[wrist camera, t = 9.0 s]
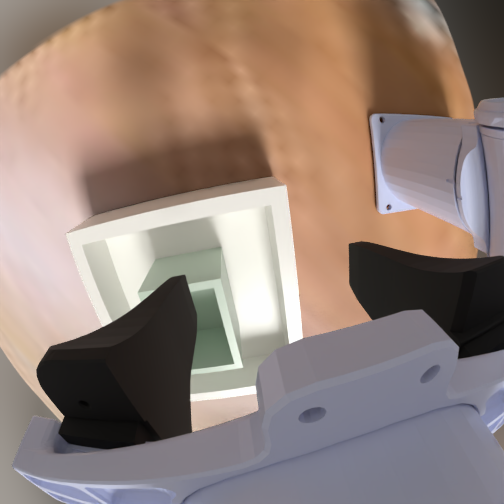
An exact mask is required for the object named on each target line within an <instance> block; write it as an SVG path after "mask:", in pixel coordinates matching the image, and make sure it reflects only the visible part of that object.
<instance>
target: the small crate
mask: <svg viewBox="0 0 504 504" xmlns="http://www.w3.org/2000/svg"><path fill="white" fill-rule="evenodd" d="M179 275H185V276H186V279H187V282H188V286H189V289H190V293H191V296H192V299H193V303H194V306H195V309H196V312H197V336H196V343H195V350H194V356H193V363H192V370H191V375H193V374H202V373H210V372H218V371H225V370H232V369H238V368H243V360H242V350H241V339H240V328H239V322H238V318H237V314H236V309H235V305H234V301H233V296H232V292H231V287H230V283H229V279H228V274H227V269H226V265H225V260H224V256H223V251H222V247H217V248H211V249H206V250H201V251H196V252H190V253H185V254H180V255H174V256H169V257H164V258H159V259H155V261H154V263H153V265H152V266H151V268H150V270H149V272H148V274H147V276H146V277H145V279H144V281H143V283H142V285H141V287H140V289H139V291H138V295H139V298H140V301H141V302H142V301H143V300H144V299H145V298H147V297H148V296H149V295H150V294H151V293H152V292H154V291H155V290H156V289H157V288H158V287H159V286H160V285H162V284H163V283H164V282H165V281H166V280H168V279H169V278H171V277H173V276H179Z"/></svg>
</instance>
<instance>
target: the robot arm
mask: <svg viewBox="0 0 504 504" xmlns="http://www.w3.org/2000/svg"><path fill="white" fill-rule="evenodd" d="M380 117H381V118H382V119H383V122H382V123H381V122H380ZM474 117H475V119H453V118H449V117H439V116H427V115H410V114H372V115H371V116H370V118H369V121H370V129H371V137H372V146H373V156H374V168H375V182H376V202H377V211H378V212H379V213H381V214H387V213H393V212H399V211H405V210H411V209H420V210H422V211H425V212H427V213H429V214H431V215H433V216H436V217H438V218H440V219H442V220H444V221H446V222H448V223H451V224H453V225H455V226H457V227H459V228H461V229H463V230H465V231H467V232H469V233H471V234H472V236H473V239H474V247H476V248H478V249H479V250H481V251H483V252H485V253H486V254H487V257H485V258H472V259H452V258H438V257H430V256H424V255H418V254H413V253H409V252H405V251H401V250H397V249H393V248H389V247H386V246H382V245H378V244H374V243H370V242H362V241H361V242H356V243H350V244H349V284H350V286H351V288H352V290H353V292H354V294H355V296H356V298H357V300H358V301H359V303H360V304H361V305H362V307H363V308H364V309H365V311H366V312H367V313H368V315H369V316H370V317H371V319H372V321H369V322H365V323H362V324H358V325H355V326H351V327H347V328H343V329H340V330H336V331H332V332H328V333H324V334H320V335H315V336H311V337H307V338H302V339H299V340H297V341H295V342H292V343H290V344H288V345H285V346H283V347H280V348H278V349H275V350H274V351H273V352H272V353H271V354H270V355H269V356H268V357H267V358H266V359H265V360H264V361H263V363H262V364H261V365H260V366H259V367H258V371H257V377H256V383H255V386H256V393H257V400H258V407H259V409H258V411H257V412H254V413H251V414H249V415H246V416H243V417H240V418H237V419H234V420H231V421H228V422H225V423H222V424H219V425H216V426H213V427H209V428H206V429H203V430H199V431H196V432H192V426H191V403H190V380H191V370H192V363H193V356H194V350H195V343H196V336H197V312H196V309H195V306H194V303H193V299H192V296H191V293H190V289H189V286H188V282H187V279H186V276H185V275H179V276H173V277H171V278H169V279H168V280H166V281H165V282H164V283H163V284H162V285H160V286H159V287H158V288H157V289H156V290H155V291H154V292H152V293H151V294H150V295H149V296H148V297H147V298H145V299H144V300H143V301H142V302H140V303H139V304H138V305H137V306H136V307H134V308H133V309H132V310H130V311H129V312H127V313H126V314H124V315H123V316H121V317H120V318H118V319H117V320H115V321H113V322H111V323H109V324H108V325H106V326H104V327H102V328H100V329H98V330H96V331H94V332H92V333H89V334H87V335H84V336H82V337H79V338H77V339H74V340H71V341H67V342H64V343H61V344H57V345H54V346H51V347H50V348H49V349H48V351H47V352H46V354H45V355H44V357H43V358H42V360H41V361H40V363H39V365H38V367H37V378H38V380H39V383H40V385H41V387H42V389H43V390H44V392H45V393H46V394H47V396H48V397H49V398H50V399H51V401H52V402H53V403H54V404H55V406H56V407H57V408H58V409H59V410H60V412H61V413H62V414H63V415H64V416H65V417H64V419H63V422H62V424H61V423H60V422H58V421H57V420H54V419H50V418H45V417H40V416H33V417H32V419H31V421H30V423H29V426H28V428H27V430H26V432H25V435H24V437H23V439H22V441H21V444H20V446H19V449H18V451H17V454H16V456H15V459H14V461H13V464H12V467H13V469H15V470H16V471H17V472H18V473H20V474H21V475H22V476H24V477H25V478H26V479H28V480H29V481H30V482H32V483H33V484H35V485H36V486H37V487H39V488H40V489H42V490H43V491H44V492H46V493H47V494H49V495H51V496H52V497H53V498H55V499H57V500H58V501H61V502H64V503H67V504H504V451H503V449H502V448H501V446H500V445H499V443H498V441H497V440H496V438H495V437H494V436H493V433H494V432H495V431H496V430H497V429H499V428H500V427H501V426H502V425H503V424H504V98H495V99H486V100H482V101H481V102H480V103H479V105H478V107H477V108H476V109H475V110H474ZM388 204H389V208H388V209H387V208H386V207H387V205H388Z"/></svg>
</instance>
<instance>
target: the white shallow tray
mask: <svg viewBox="0 0 504 504" xmlns="http://www.w3.org/2000/svg"><path fill="white" fill-rule="evenodd" d="M66 237H67V240H68V243H69V246H70V249H71V252H72V254H73V257H74V260H75V263H76V266H77V268H78V271H79V273H80V276H81V279H82V281H83V284H84V286H85V288H86V291H87V293H88V296H89V298H90V300H91V302H92V305H93V307H94V309H95V311H96V314H97V316H98V318H99V320H100V322H101V324H102V326H103V327H104V326H106V325H108V324H109V323H111V322H113V321H115V320H117V319H118V318H120V317H121V316H123V315H124V314H126V313H127V312H129V311H130V310H132V309H133V308H134V307H136V306H137V305H138V304H139V303H140V302H141V301H140V298H139V295H138V291H139V289H140V287H141V285H142V283H143V281H144V279H145V277H146V276H147V274H148V272H149V270H150V268H151V266H152V265H153V263H154V261H155V259H159V258H164V257H169V256H174V255H180V254H185V253H190V252H196V251H201V250H206V249H211V248H217V247H222V251H223V256H224V260H225V265H226V269H227V274H228V279H229V283H230V287H231V292H232V296H233V301H234V305H235V309H236V314H237V318H238V322H239V328H240V339H241V350H242V360H243V368H238V369H232V370H225V371H218V372H210V373H202V374H193V375H191V380H190V401H201V400H211V399H220V398H228V397H235V396H242V395H248V394H255V393H256V386H255V383H256V377H257V371H258V367H259V366H260V365H261V364H262V363H263V361H264V360H265V359H266V358H267V357H268V356H269V355H270V354H271V353H272V352H273V351H274V350H275V349H278V348H280V347H283V346H285V345H288V344H290V343H292V342H295V341H297V340H299V339H302V338H303V337H302V324H301V313H300V301H299V291H298V281H297V271H296V261H295V252H294V243H293V235H292V226H291V218H290V210H289V203H288V195H287V188H286V185H285V184H284V183H282V182H281V181H279V180H278V179H276V178H275V177H273V176H272V177H265V178H259V179H253V180H248V181H242V182H236V183H231V184H225V185H220V186H215V187H210V188H205V189H200V190H195V191H190V192H186V193H181V194H177V195H172V196H168V197H163V198H159V199H155V200H151V201H147V202H143V203H139V204H135V205H131V206H127V207H123V208H119V209H115V210H112V211H108V212H104V213H101V214H97V215H94V216H92V217H90V218H89V219H87V220H86V221H84V222H83V223H81V224H79V225H78V226H76V227H75V228H73V229H72V230H70V231H69V232H67V233H66Z"/></svg>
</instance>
